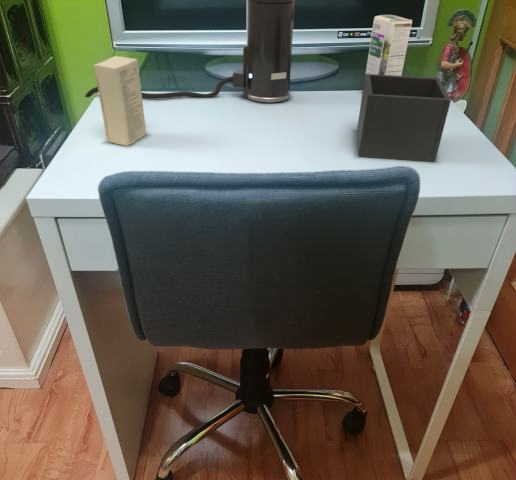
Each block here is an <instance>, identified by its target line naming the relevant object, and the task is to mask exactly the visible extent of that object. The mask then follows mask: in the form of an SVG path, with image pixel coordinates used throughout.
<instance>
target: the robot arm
mask: <svg viewBox="0 0 516 480" xmlns="http://www.w3.org/2000/svg"><path fill="white" fill-rule="evenodd" d="M295 2H296V0H246V15H245V16H246V21H245V22H246V25H245V26H246V27H245V28H246V30H245V31H246V32H245V33H246V34H245V37H246V38H245V39H246V40H245V42H246V44H245V45H243V50H242V67H238V68H237V69H236V70H234V72H232V75H231V76H228V77H225V78H223V79H222V80H220V81H219V82H218V83H217V84H216V87H215V90H214V91H211V92H209V93H200V92H193V91H173V92H164V93H150V92H149V93H147V92H141V94H142V99H143V98H144V99H155V100H156V99H170V98H179V97H180V98H181V97H188V98H189V97H190V98H196V99H210V98H214V97H216V96H218V95H219V94H220V92H221V88H222V87H223V86H224V85H226V84H228V83H230V82H232V87H233V88H239V89H242V98H243V99H249V100H251V101H253V102H259V103H266V104H267V103H270V104H271V103H279V102H284V101H287V100H289V99H290V97H291V95H290V94H291V91H290V89H291V74H292V73H291V72H292V71H291V70H292V55H293V54H292V51H293V37H294V35H293V34H294V19H295V18H294V17H295ZM96 93H99V91H98V86H96V87H93V88H90V90H88V92H86V94H85V96H84V98H90V97H92V96H93V95H94V94H96Z"/></svg>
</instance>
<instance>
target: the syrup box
mask: <svg viewBox="0 0 516 480" xmlns="http://www.w3.org/2000/svg"><path fill="white" fill-rule="evenodd" d="M373 17H374V18H373V23H372V29H371V36H370V42H369V50H368V56H367V62H366V69H365V74H376V75H394V76H403V70H404V65H405V60H406V55H407V50H408V45H409V41H410V36H411V30H412V24H413V19H408V18H405V17H402V16H398V15H394V14H380V15H375V16H373Z"/></svg>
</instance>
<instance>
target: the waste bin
mask: <svg viewBox="0 0 516 480" xmlns="http://www.w3.org/2000/svg"><path fill="white" fill-rule="evenodd" d="M361 93H362V94H361V100H360V107H359V113H358V120H357V127H356V138H357V140H356V141H357V155H358V157H360V158H374V159H388V160H399V161H415V162H416V161H417V162H430V163H435V162H436V159H437V157H438V152H439V148H440V145H441V140H442V136H443V132H444V129H445V125H446V121H447V118H448V114H449V110H450V105H451V101H452V100H451V97H450V96H449V94H448V92H447V90H446V88H445V86H444V84H443V83H442V81H441V79H440V77H428V76H409V75H402V76H394V75H376V74H366V73H365V74H364V80H363V87H362V92H361Z"/></svg>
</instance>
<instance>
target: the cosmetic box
mask: <svg viewBox="0 0 516 480" xmlns="http://www.w3.org/2000/svg"><path fill="white" fill-rule="evenodd" d="M93 68H94V74H95V78H96V85H97V86H96V87H98V91H99V92H98V97H99V102H100V109H101V112H102V120H103V125H104V132H105V137H106V142H107V143H111V144H114V145H115V144H116V145H121V146H125V147H128V146H130V145H132V144H133V143H135V142H137V141H138V140H140V139H142V138H143V137H145V136H146V135H147V128H146V119H145V112H144V103H143V98H142V94H141V93H142V87H141V79H140V70H139V61H138V58H132V57H127V56H119V55H114V56H111V57H109V58H107V59H104V60H101V61H99V62H97V63H94V64H93Z"/></svg>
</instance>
